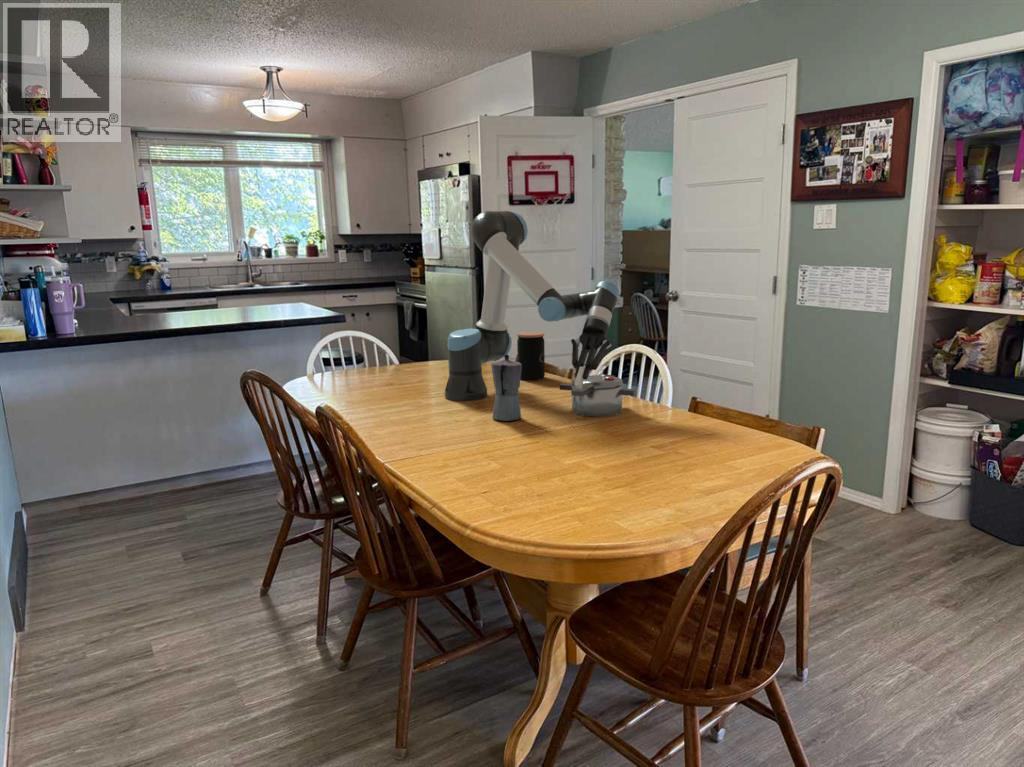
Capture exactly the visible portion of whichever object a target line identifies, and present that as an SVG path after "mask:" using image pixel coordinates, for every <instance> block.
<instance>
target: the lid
mask: <svg viewBox="0 0 1024 767" xmlns="http://www.w3.org/2000/svg"><path fill="white" fill-rule="evenodd" d="M575 380H576V378H575V377H573V378H572V380H571V384H572V385H573V386H574V387H575V385H574V384H575ZM620 386H622V387H623V379H622V378H620V377H616V376H615V375H613V374H602V373H601V374H600V373H599V374H598V375H597V374H596V375H595V374H594V375H592V374H591V375H588V378H587V380H586V379H584V383H583V386H582V389H581V390H577V389H574V390H572V391H571V392H570V393H571V394H570V395H571V396H572V395H573V396H584V395H586V394H588V393H589V392H591V391H593V390H604V389H613V388H617V387H620Z"/></svg>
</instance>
